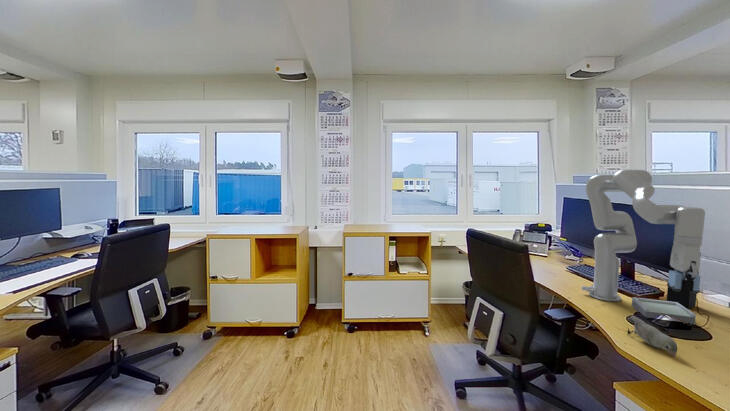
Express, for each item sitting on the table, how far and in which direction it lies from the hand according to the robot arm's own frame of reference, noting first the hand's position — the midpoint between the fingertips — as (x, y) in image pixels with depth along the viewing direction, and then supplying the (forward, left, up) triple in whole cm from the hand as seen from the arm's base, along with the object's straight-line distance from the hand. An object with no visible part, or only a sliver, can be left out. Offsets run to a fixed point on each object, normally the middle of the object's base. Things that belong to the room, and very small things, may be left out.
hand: (682, 287), depth 123 cm
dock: (+1, +17, -17) cm, 24 cm away
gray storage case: (0, 0, -1) cm, 1 cm away
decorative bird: (-14, -17, -17) cm, 28 cm away
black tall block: (+15, +35, -17) cm, 42 cm away
